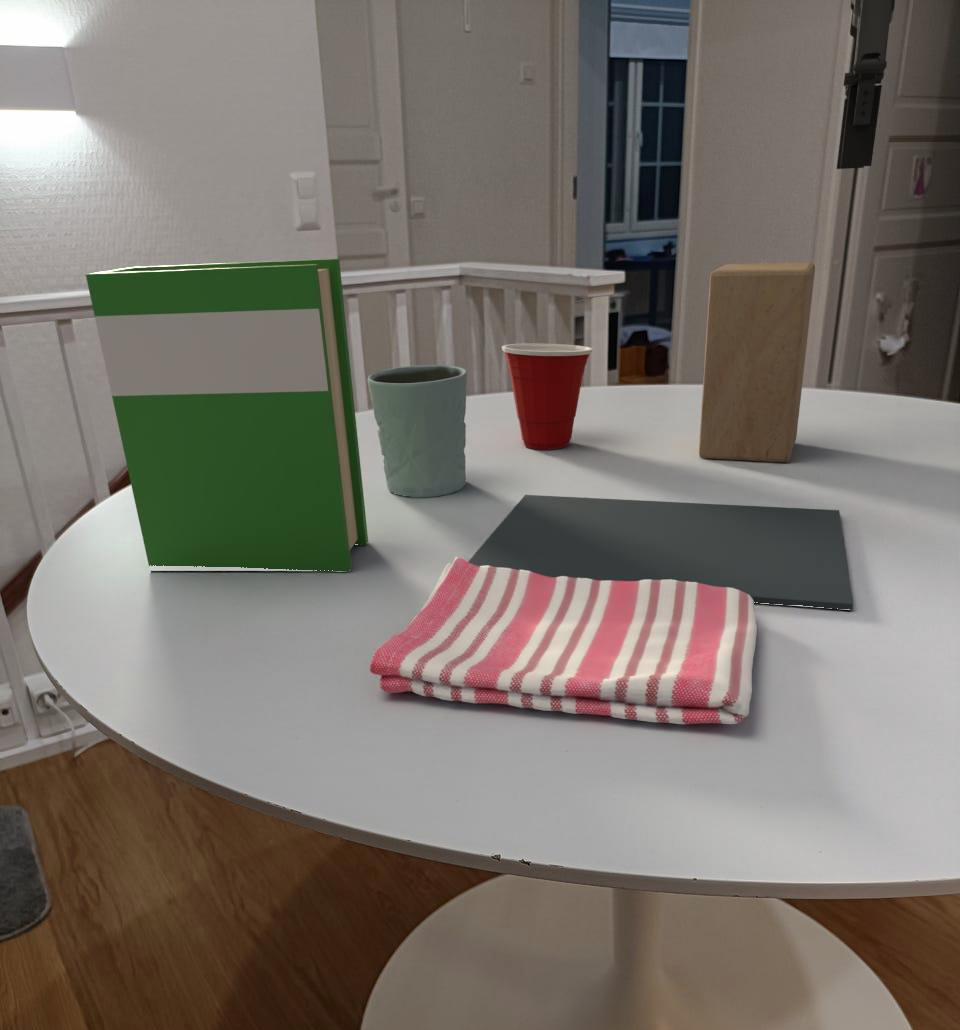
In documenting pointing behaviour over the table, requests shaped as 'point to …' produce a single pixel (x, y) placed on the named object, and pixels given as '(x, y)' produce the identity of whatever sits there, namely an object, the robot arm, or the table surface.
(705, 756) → the table surface
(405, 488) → the green ceramic cup
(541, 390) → the plastic cup
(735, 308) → the wooden block
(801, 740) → the table surface
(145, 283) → the hardback book
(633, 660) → the dish towel
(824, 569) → the mat
